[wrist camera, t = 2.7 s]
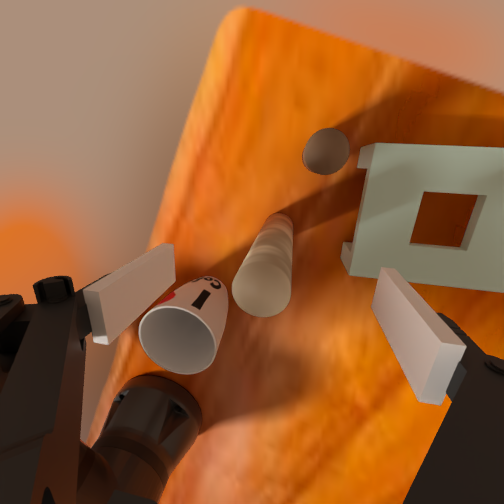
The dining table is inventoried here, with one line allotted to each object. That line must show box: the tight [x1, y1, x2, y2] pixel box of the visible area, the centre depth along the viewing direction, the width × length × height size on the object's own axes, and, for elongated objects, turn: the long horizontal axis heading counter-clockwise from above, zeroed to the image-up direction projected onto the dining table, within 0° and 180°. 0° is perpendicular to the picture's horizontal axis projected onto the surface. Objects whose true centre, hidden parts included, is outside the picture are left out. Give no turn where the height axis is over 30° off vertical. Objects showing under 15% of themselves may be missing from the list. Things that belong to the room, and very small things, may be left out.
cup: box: [139, 276, 228, 374], centre depth 29 cm, size 8×8×10 cm
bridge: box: [340, 143, 504, 293], centre depth 24 cm, size 14×12×5 cm
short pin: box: [302, 128, 350, 175], centre depth 22 cm, size 3×3×7 cm
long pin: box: [232, 213, 293, 317], centre depth 21 cm, size 3×3×16 cm
